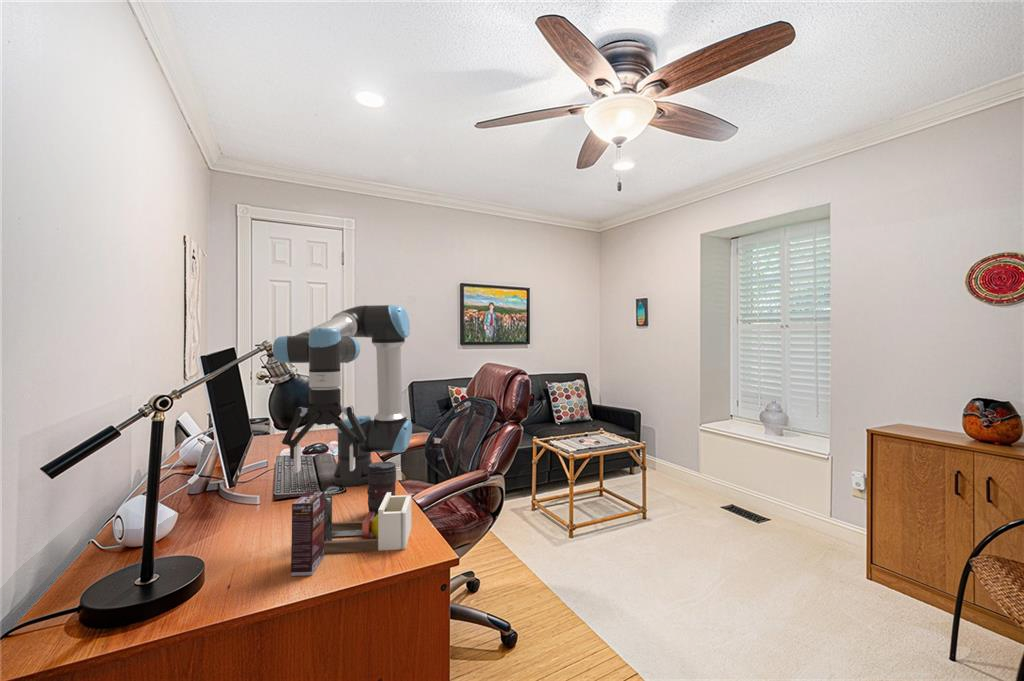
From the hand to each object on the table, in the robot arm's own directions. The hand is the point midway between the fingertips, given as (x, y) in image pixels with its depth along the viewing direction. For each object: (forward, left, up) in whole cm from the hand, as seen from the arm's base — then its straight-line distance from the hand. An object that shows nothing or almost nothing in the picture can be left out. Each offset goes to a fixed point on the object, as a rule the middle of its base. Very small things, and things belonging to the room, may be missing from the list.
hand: (325, 470), depth 117 cm
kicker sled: (0, +5, -18) cm, 19 cm away
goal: (0, +18, -18) cm, 25 cm away
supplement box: (+13, 0, -19) cm, 23 cm away
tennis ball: (0, +15, -19) cm, 24 cm away
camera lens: (-17, +11, -19) cm, 28 cm away
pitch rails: (0, +6, -18) cm, 19 cm away
